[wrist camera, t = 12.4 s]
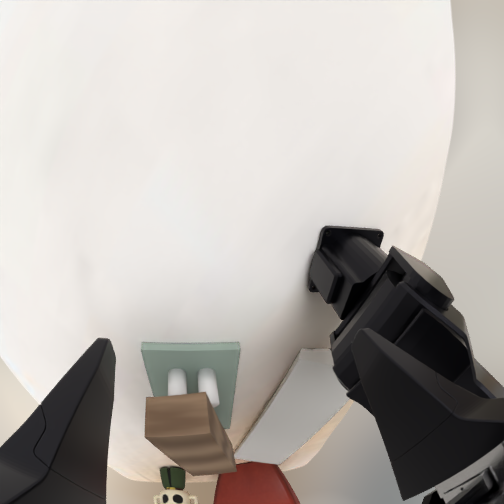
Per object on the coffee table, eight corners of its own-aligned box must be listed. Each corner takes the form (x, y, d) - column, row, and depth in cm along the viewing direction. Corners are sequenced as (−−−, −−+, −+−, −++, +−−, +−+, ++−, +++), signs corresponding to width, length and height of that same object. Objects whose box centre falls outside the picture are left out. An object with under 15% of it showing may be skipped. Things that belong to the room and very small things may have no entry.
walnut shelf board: (231, 444, 31) (236, 471, 27) (190, 448, 30) (193, 475, 26) (205, 391, 23) (210, 433, 19) (146, 397, 22) (144, 437, 18)
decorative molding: (235, 439, 47) (280, 446, 47) (232, 457, 43) (279, 464, 43) (297, 330, 32) (365, 344, 33) (299, 359, 28) (373, 371, 28)
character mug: (190, 464, 46) (196, 512, 35) (197, 470, 50) (203, 514, 39) (146, 464, 45) (148, 510, 34) (156, 471, 49) (160, 513, 37)
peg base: (238, 342, 27) (246, 380, 23) (228, 423, 36) (233, 450, 32) (142, 342, 25) (136, 381, 21) (165, 424, 34) (166, 451, 30)
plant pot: (225, 478, 57) (235, 526, 43) (201, 465, 48) (211, 526, 33) (290, 465, 58) (304, 513, 44) (282, 450, 49) (300, 512, 34)
